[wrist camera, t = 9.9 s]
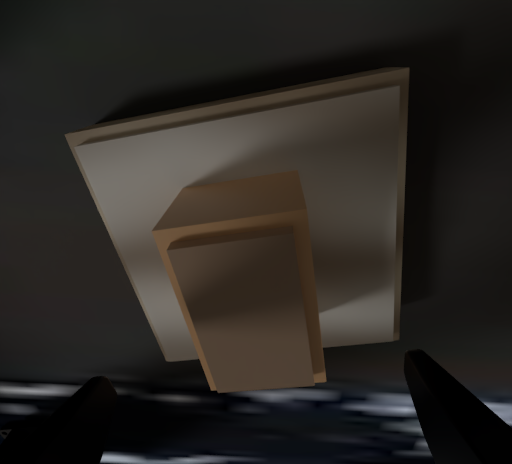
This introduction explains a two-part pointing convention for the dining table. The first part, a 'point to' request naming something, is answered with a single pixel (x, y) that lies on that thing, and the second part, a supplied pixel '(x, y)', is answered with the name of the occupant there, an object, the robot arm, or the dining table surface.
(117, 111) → the dining table surface
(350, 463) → the dining table surface
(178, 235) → the housing
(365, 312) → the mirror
